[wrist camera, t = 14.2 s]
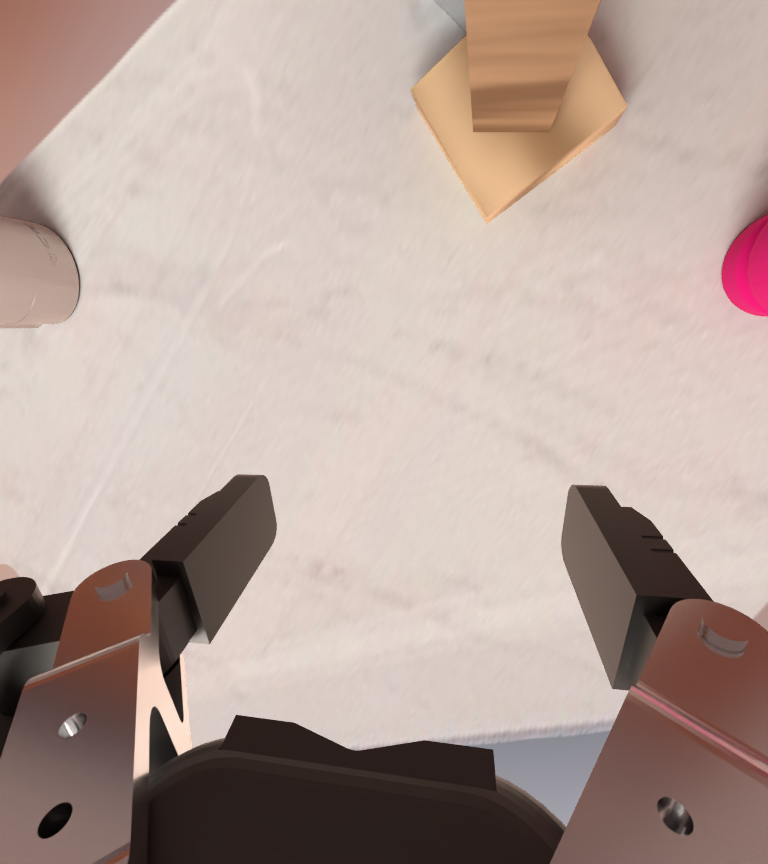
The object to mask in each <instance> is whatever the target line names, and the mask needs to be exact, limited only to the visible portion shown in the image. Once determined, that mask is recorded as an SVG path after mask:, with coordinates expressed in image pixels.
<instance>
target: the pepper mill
mask: <svg viewBox="0 0 768 864" xmlns="http://www.w3.org/2000/svg"><path fill="white" fill-rule="evenodd" d="M722 283H723V288H724V290H725V292H726V294H727V296H728V298H729V299H730V301H731V302H732V303H733V304H734V305H735V306H737V307H738V308H740V309H741V310H743V311H745V312H747V313H750V314H753V315H758V316H768V215H765V216H764V217H762V218H760V219H758V220H757V221H755V222H754V223H752V224H751V225H750V226H748V227H747V228H746V229H745V230H744V231H743V232H742V233H741V234H740V235H739V236H738V237H737V238H736V240H735V241H734V242H733V244H732V245H731V247H730V249H729V250H728V252H727V255H726V257H725V259H724V263H723V268H722Z"/></svg>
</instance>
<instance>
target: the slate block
mask: <svg viewBox="0 0 768 864" xmlns="http://www.w3.org/2000/svg"><path fill="white" fill-rule="evenodd" d="M433 1H434V2H435V3H436V4H437V5H439V6H440V7H441V8H442V9H443V10H444V11H445V12H446V13H447V14H448V15H449V16H450V17H451V18H452V19H453V20H454V21H455V22H456V23H457V24H458V25H459V26H460V27H461V28H462V29H464V30H465V31H466V18H465V3H464V0H433Z"/></svg>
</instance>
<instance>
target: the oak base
mask: <svg viewBox="0 0 768 864" xmlns="http://www.w3.org/2000/svg"><path fill="white" fill-rule="evenodd" d="M411 92H412V95H413V98H414V101H415V103H416V106H417V109H418V111H419V113H420V114H421V116H422V117H423V119H424V121H425V122H426V124H427V126H428V127H429V129H430V131H431V132H432V134H433V136H434V137H435V139H436V141H437V142H438V144H439V146H440V147H441V149H442V151H443V152H444V154H445V156H446V157H447V159H448V161H449V162H450V164H451V166H452V167H453V169H454V171H455V172H456V174H457V175H458V177H459V179H460V180H461V182H462V184H463V185H464V187H465V189H466V190H467V192H468V194H469V195H470V197H471V199H472V200H473V202H474V204H475V205H476V207H477V209H478V210H479V212H480V214H481V215H482V217H483V219H484V220H485V222H486V224H487V223H489V222H490V221H491V220H493V219H494V218H495V217H497V216H498V215H499V214H500V213H502V212H503V211H504V210H506V209H507V208H508V207H510V206H511V205H512V204H514V203H515V202H516V201H517V200H519V199H520V198H521V197H523V196H524V195H525V194H527V193H528V192H529V191H531V190H532V189H533V188H534V187H536V186H537V185H538V184H540V183H541V182H542V181H544V180H545V179H546V178H548V177H549V176H550V175H551V174H553V173H554V172H555V171H557V170H558V169H559V168H561V167H562V166H563V165H565V164H566V163H567V162H568V161H570V160H571V159H572V158H574V157H575V156H576V155H578V154H579V153H580V152H582V151H583V150H584V149H585V148H587V147H588V146H589V145H591V144H592V143H593V142H595V141H596V140H597V139H599V138H600V137H601V136H602V135H604V134H605V133H606V132H608V131H609V130H610V129H612V128H613V127H614V126H615V125H616V123H617V122H618V120H619V118H620V117H621V115H622V114H623V112H624V111H625V109H626V107H627V104H626V102H625V100H624V99H623V97H622V95H621V93H620V91H619V90H618V88H617V86H616V84H615V82H614V81H613V79H612V77H611V75H610V73H609V71H608V70H607V68H606V66H605V64H604V62H603V61H602V59H601V57H600V55H599V53H598V52H597V50H596V48H595V46H594V44H593V43H592V41H591V39H590V37H589V35H588V34H587V37H586V40H585V42H584V45H583V47H582V50H581V52H580V55H579V58H578V60H577V63H576V65H575V68H574V70H573V73H572V76H571V78H570V81H569V83H568V86H567V88H566V91H565V94H564V96H563V99H562V101H561V104H560V106H559V109H558V112H557V114H556V117H555V119H554V122H553V124H552V127H551V130H550V132H473V123H472V108H471V93H470V78H469V63H468V48H467V35H466V36H465V37H464V38H463V39H462V40H461V41H460V42H459V43H458V44H457V45H456V46H455V47H453V48H452V49H451V50H450V51H449V52H448V53H447V54H446V55H445V56H444V57H443V58H442V59H441V60H440V61H439V62H438V63H437V64H436V65H435V66H434V67H433V68H432V69H431V70H430V71H429V72H428V73H427V74H426V75H425V76H424V77H423V78H422V79H421V80H420V81H419V82H418V83H417V84H416V85H415V86H414V87H413V88H412V89H411Z"/></svg>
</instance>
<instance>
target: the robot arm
mask: <svg viewBox="0 0 768 864" xmlns="http://www.w3.org/2000/svg"><path fill="white" fill-rule="evenodd" d="M78 295H79V278H78V273H77V269H76V265H75V263H74V260H73V257H72V255H71V253H70V251H69V250H68V248H67V246H66V245H65V244H64V242H63V241H62V240H61V238H60V237H59V236H58V235H57V234H55V233H54V232H53V231H52V230H50V229H49V228H47V227H45V226H43V225H40V224H37V223H32V222H28V221H23V220H18V219H14V218H9V217H4V216H0V328H38V327H39V326H40V325H41V324H55V323H60V322H62V321H64V320H66V319H67V318H68V317H69V316H70V315H71V314H72V312H73V310H74V309H75V307H76V304H77V300H78ZM276 529H277V524H276V517H275V512H274V507H273V502H272V497H271V491H270V486H269V482H268V479H267V478H266V476H264V475H240V474H239V475H236V476H235V477H233V478H232V479H231V480H230V481H229V482H228V483H227V484H226V485H225V486H224V487H223V488H222V489H221V490H220V491H218V492H216V493H214V494H212V495H211V496H209V497H207V498H205V499H204V500H202V501H200V502H199V503H198V504H197V505H196V506H195V507H194V508H193V509H192V510H191V511H190V512H189V513H188V516H185V517H184V518H183V519H182V520H180V521H179V522H178V526H174V527H173V528H172V529H171V530H170V531H169V532H168V533H167V534H166V535H165V536H164V537H163V538H162V539H161V540H160V541H159V542H158V543H157V544H155V545H154V546H153V547H152V548H151V549H150V550H149V551H148V552H147V553H146V554H145V555H144V556H143V557H142V558H141V559H140V560H127V561H122V562H118V563H115V564H112V565H109V566H107V567H105V568H102V569H101V570H99V571H97V572H95V573H94V574H92V575H90V576H89V577H88V578H86V579H85V580H84V581H83V582H82V583H81V584H79V586H78V587H77V588H76V589H75V591H70V592H64V593H58V594H52V595H47V596H42V594H41V592H40V590H39V588H38V586H37V584H36V582H35V581H34V580H33V579H31V578H28V577H17V578H11V579H6V580H3V581H0V864H768V631H767V630H766V629H764V628H763V627H762V626H761V625H760V624H758V623H757V622H756V621H754V620H753V619H751V618H750V617H748V616H746V615H744V614H743V613H741V612H739V611H737V610H735V609H733V608H730V607H728V606H725V605H723V604H720V603H716V602H714V601H713V600H712V599H711V598H710V596H709V595H708V594H707V592H706V591H705V590H704V589H703V587H702V586H701V585H700V583H699V582H698V581H697V580H696V578H695V577H694V576H693V574H692V573H691V572H690V571H689V569H688V568H687V567H686V565H685V564H684V563H683V562H682V560H681V559H680V558H679V556H678V555H677V554H676V553H674V552H673V549H672V547H671V546H670V545H669V544H668V542H667V541H666V540H663V536H662V535H661V533H660V532H659V531H658V529H657V528H656V527H655V526H654V524H653V523H652V522H651V521H650V520H649V519H647V518H646V517H645V516H643V515H642V514H640V513H639V512H637V511H636V510H634V509H633V508H631V507H621V506H620V505H619V503H618V502H617V500H616V499H615V498H614V496H613V495H612V493H611V492H610V490H609V489H608V488H607V487H606V486H593V485H572V486H571V487H570V489H569V492H568V498H567V504H566V511H565V518H564V524H563V531H562V540H561V545H562V555H563V560H564V563H565V566H566V568H567V571H568V574H569V576H570V579H571V581H572V584H573V587H574V589H575V592H576V594H577V597H578V600H579V602H580V605H581V608H582V610H583V613H584V615H585V618H586V621H587V623H588V626H589V629H590V631H591V634H592V636H593V639H594V642H595V644H596V647H597V650H598V652H599V655H600V657H601V660H602V663H603V665H604V668H605V671H606V673H607V676H608V678H609V681H610V684H611V686H612V689H620V690H629V692H628V694H627V696H626V698H625V700H624V703H623V705H622V707H621V709H620V711H619V714H618V716H617V718H616V720H615V722H614V725H613V727H612V729H611V731H610V733H609V735H608V738H607V740H606V742H605V744H604V746H603V749H602V751H601V753H600V755H599V757H598V760H597V762H596V764H595V766H594V768H593V771H592V773H591V775H590V777H589V779H588V781H587V783H586V786H585V788H584V790H583V792H582V795H581V797H580V799H579V801H578V803H577V806H576V807H575V810H574V812H573V814H572V816H571V818H570V821H569V823H568V825H567V827H566V826H565V825H563V823H562V822H561V821H560V820H559V819H558V818H556V816H555V815H554V814H552V813H551V812H550V811H549V810H548V809H547V808H546V807H545V806H544V805H543V804H541V803H540V802H539V801H538V800H536V799H535V798H534V797H532V796H531V795H530V794H529V793H527V792H526V791H524V790H523V789H521V788H519V787H518V786H516V785H514V784H513V783H511V782H510V781H508V780H505V779H503V778H501V777H499V776H497V775H495V766H494V754H493V750H491V749H483V748H477V747H469V746H462V745H455V744H447V743H440V742H432V741H425V740H424V741H418V742H412V743H405V744H399V745H393V746H386V747H380V748H374V749H367V750H360V751H355V750H350V749H347V748H345V747H343V746H341V745H339V744H337V743H335V742H333V741H331V740H329V739H327V738H325V737H322V736H320V735H318V734H316V733H314V732H312V731H310V730H308V729H306V728H304V727H302V726H300V725H298V724H296V723H292V722H284V721H277V720H270V719H262V718H255V717H247V716H240V715H236V716H235V718H234V720H233V723H232V725H231V727H230V729H229V731H228V733H227V735H226V737H225V738H223V739H218V740H215V741H212V742H208V743H205V744H202V745H200V746H197V747H195V748H193V746H192V741H191V734H190V722H189V709H188V696H187V683H186V670H185V660H184V657H183V654H182V651H183V650H184V648H185V647H186V646H187V644H188V643H189V642H191V643H201V644H210V643H211V641H212V640H213V638H214V637H215V635H216V633H217V632H218V630H219V629H220V627H221V625H222V624H223V622H224V621H225V619H226V617H227V616H228V614H229V613H230V611H231V609H232V608H233V606H234V605H235V603H236V601H237V600H238V598H239V597H240V595H241V594H242V592H243V590H244V589H245V587H246V586H247V584H248V582H249V581H250V579H251V578H252V576H253V574H254V573H255V571H256V570H257V568H258V566H259V565H260V563H261V562H262V560H263V559H264V557H265V555H266V554H267V552H268V551H269V549H270V547H271V546H272V544H273V542H274V539H275V536H276Z"/></svg>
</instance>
